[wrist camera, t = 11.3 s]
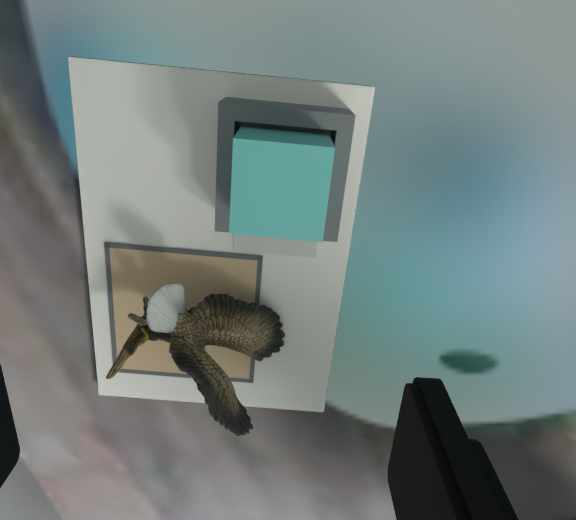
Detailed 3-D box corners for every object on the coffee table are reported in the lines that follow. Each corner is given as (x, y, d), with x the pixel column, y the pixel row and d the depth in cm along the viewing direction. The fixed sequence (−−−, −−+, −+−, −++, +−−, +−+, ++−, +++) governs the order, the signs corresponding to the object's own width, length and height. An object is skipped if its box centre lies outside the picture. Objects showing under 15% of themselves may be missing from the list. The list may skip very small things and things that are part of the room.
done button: (329, 134, 23) (335, 147, 20) (318, 217, 25) (322, 242, 22) (241, 125, 23) (233, 138, 20) (237, 210, 25) (229, 233, 22)
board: (372, 86, 25) (384, 91, 22) (323, 404, 34) (326, 442, 31) (74, 56, 25) (41, 57, 22) (103, 387, 34) (82, 423, 30)
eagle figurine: (125, 373, 31) (250, 431, 30) (83, 381, 24) (245, 456, 23) (177, 269, 32) (297, 323, 32) (152, 247, 25) (305, 316, 25)
